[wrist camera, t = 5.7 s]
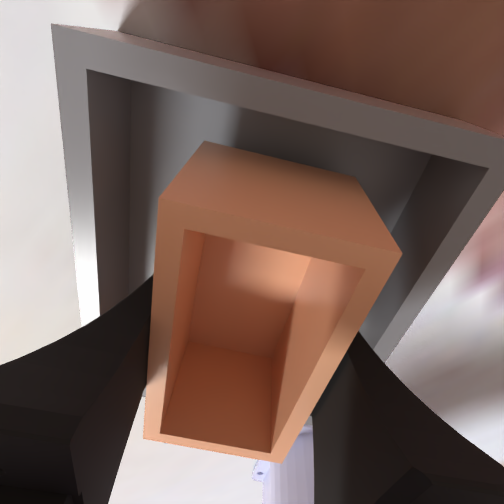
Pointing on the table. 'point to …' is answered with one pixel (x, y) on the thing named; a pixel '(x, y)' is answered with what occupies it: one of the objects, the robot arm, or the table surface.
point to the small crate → (255, 298)
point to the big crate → (262, 142)
